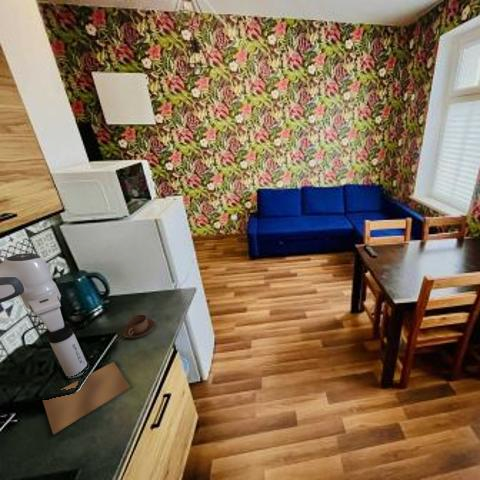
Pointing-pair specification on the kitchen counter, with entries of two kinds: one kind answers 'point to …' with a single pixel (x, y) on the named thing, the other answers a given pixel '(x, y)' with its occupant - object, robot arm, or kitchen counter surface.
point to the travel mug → (67, 351)
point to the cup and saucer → (138, 326)
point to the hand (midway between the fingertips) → (57, 328)
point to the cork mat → (85, 397)
